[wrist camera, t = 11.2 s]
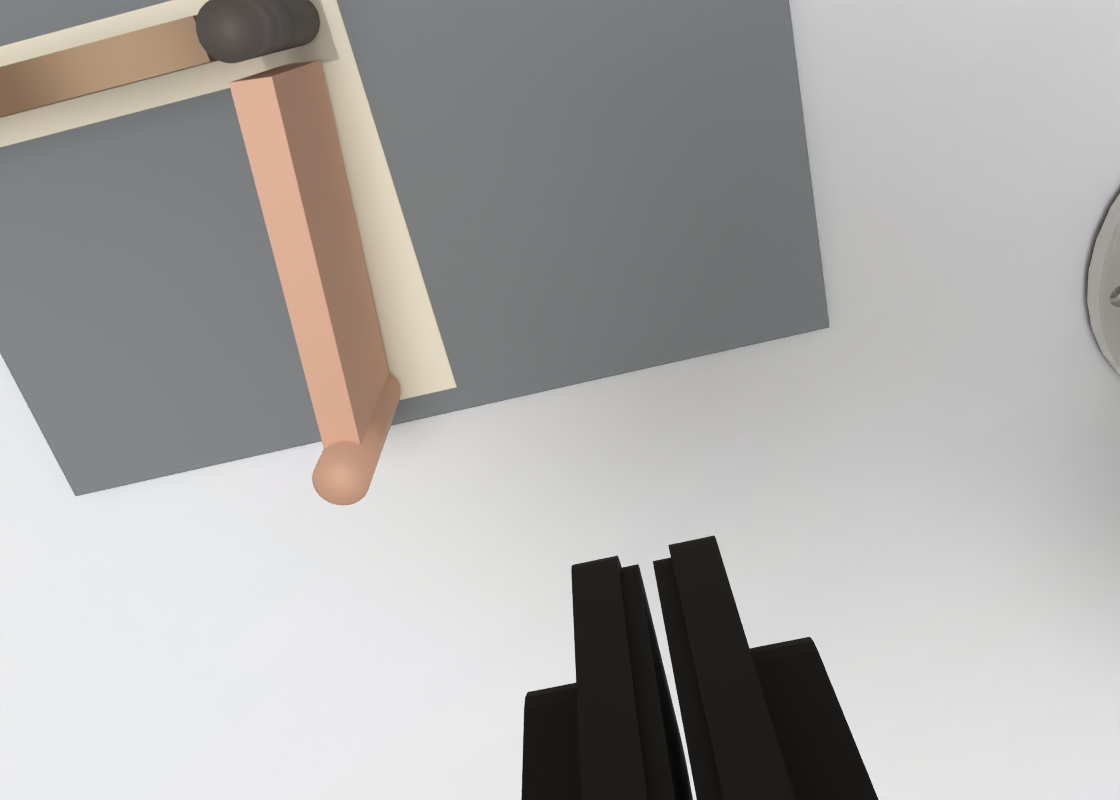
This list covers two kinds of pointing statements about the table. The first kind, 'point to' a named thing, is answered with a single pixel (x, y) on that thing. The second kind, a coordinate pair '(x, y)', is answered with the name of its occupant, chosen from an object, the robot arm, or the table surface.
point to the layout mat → (402, 216)
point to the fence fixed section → (159, 51)
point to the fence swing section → (320, 269)
